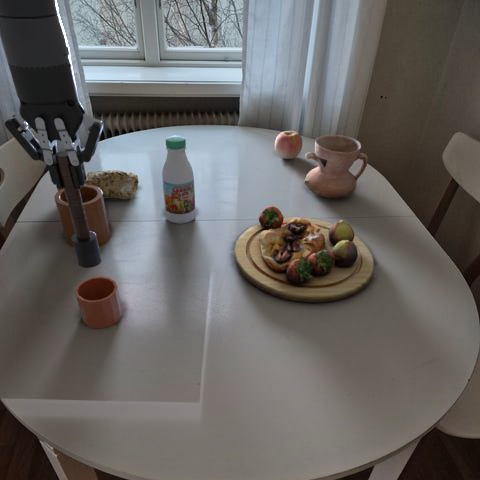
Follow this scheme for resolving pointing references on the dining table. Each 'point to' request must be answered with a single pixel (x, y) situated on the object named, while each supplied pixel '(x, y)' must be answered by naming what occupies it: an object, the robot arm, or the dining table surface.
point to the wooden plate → (303, 258)
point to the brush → (78, 217)
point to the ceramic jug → (334, 166)
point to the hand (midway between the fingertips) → (71, 186)
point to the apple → (288, 144)
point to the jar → (93, 213)
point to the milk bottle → (178, 182)
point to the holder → (99, 302)
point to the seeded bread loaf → (113, 183)
